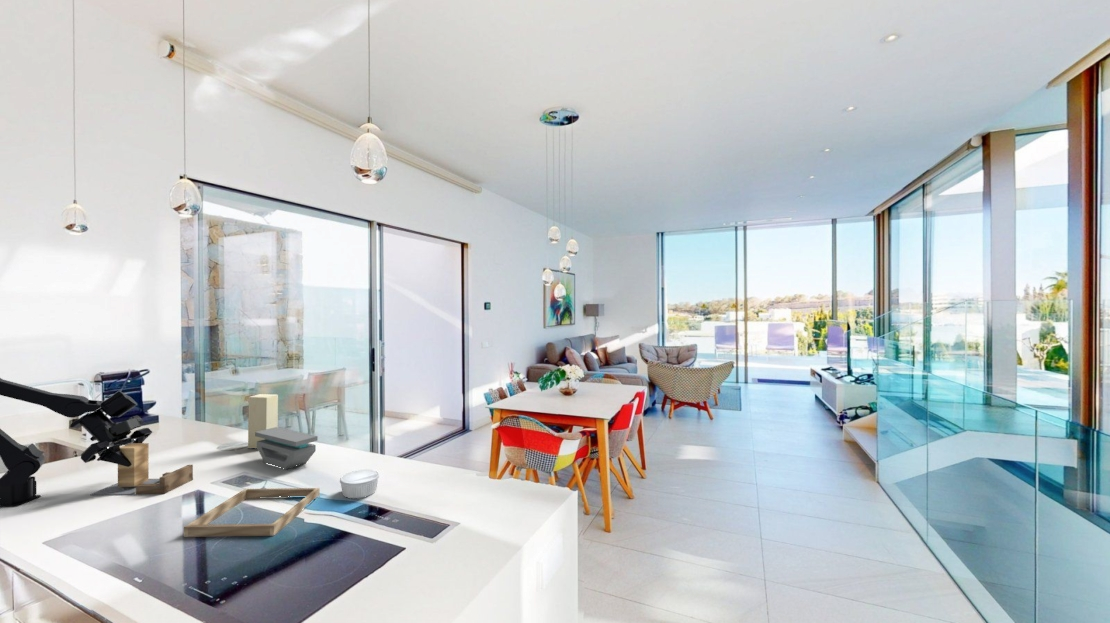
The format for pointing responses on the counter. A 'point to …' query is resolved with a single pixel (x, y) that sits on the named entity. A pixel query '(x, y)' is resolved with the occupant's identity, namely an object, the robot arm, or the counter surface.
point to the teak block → (134, 465)
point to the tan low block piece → (168, 481)
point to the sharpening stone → (285, 447)
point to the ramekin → (359, 483)
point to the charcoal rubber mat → (122, 489)
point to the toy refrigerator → (261, 416)
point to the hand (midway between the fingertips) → (137, 462)
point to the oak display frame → (203, 530)
